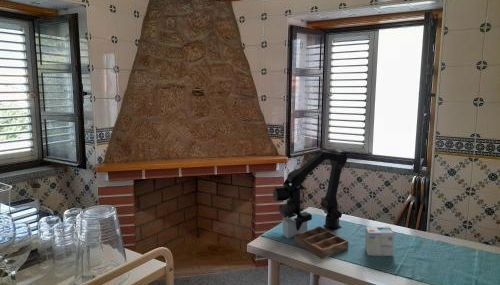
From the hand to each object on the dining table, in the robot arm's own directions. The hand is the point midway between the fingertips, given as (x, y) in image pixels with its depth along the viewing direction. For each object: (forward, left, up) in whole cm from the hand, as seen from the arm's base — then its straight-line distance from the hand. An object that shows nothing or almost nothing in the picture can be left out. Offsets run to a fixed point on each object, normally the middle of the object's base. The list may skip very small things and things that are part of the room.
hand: (295, 228), depth 175 cm
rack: (-2, +16, -2) cm, 16 cm away
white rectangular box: (0, 0, -2) cm, 2 cm away
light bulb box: (-18, +35, -3) cm, 40 cm away
